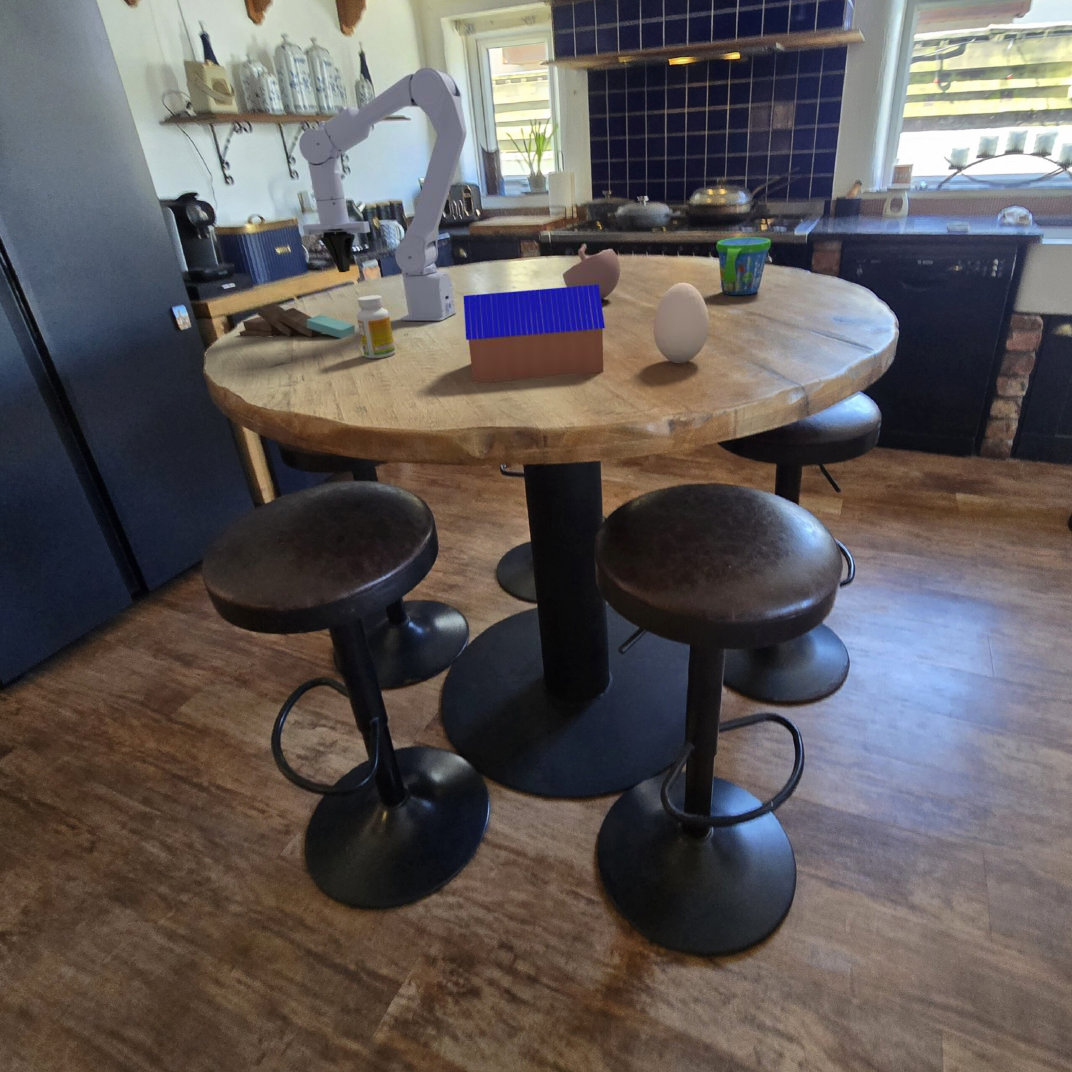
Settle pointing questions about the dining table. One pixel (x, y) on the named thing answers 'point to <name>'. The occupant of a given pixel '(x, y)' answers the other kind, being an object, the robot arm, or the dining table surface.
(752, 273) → the snack cup
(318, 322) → the teal tile
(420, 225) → the robot arm
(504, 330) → the house
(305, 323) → the tile
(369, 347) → the supplement bottle
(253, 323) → the tile
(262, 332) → the tile
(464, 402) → the dining table surface
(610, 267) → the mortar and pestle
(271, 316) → the tile
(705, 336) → the egg
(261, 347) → the dining table surface
